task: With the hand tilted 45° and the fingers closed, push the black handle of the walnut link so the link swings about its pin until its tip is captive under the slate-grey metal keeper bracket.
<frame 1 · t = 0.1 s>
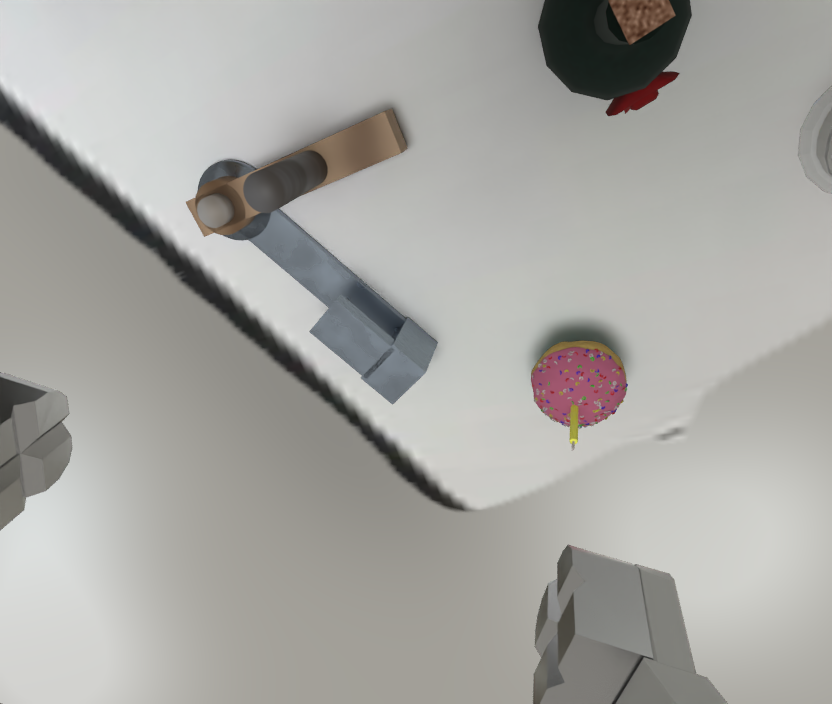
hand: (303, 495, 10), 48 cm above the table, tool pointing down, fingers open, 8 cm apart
cupcake: (576, 361, 60), on the table
walnut link: (269, 187, 51), point 7 cm above the table, hinge at 0.0°
keeper bracket: (237, 200, 59), on the table
wine bottle: (601, 43, 48), on the table
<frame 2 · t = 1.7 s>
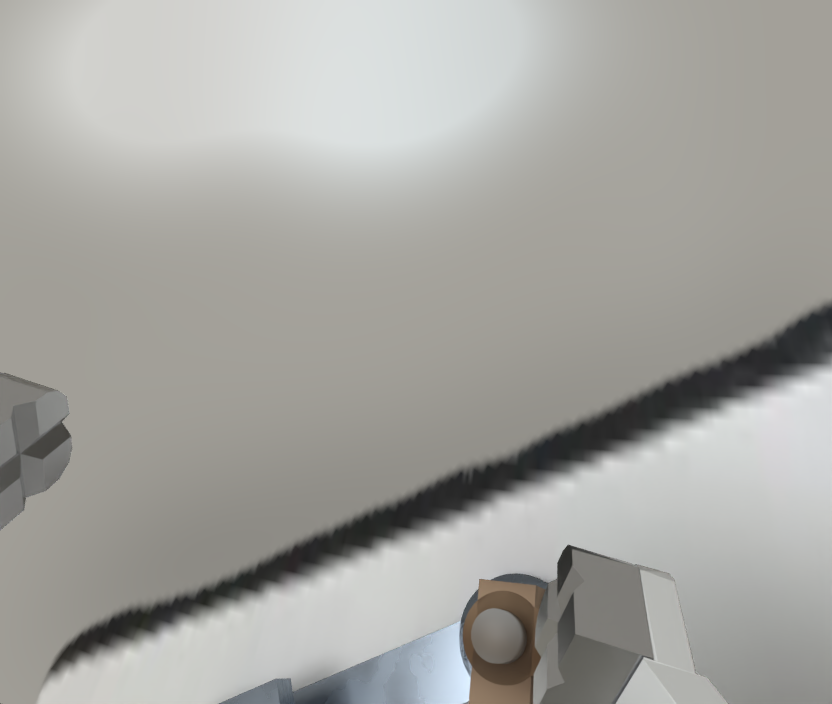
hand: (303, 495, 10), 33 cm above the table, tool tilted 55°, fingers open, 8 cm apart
keeper bracket: (519, 639, 38), on the table
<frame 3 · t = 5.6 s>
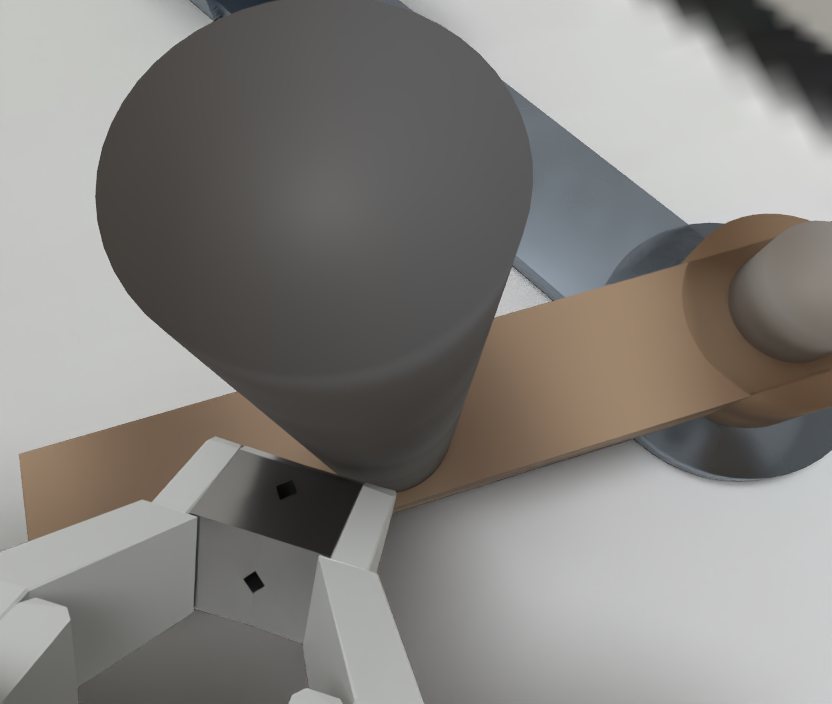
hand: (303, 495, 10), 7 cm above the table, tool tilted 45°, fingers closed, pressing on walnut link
walnut link: (516, 344, 10), point 7 cm above the table, hinge at -1.9°, touching gripper
keeper bracket: (718, 350, 18), on the table
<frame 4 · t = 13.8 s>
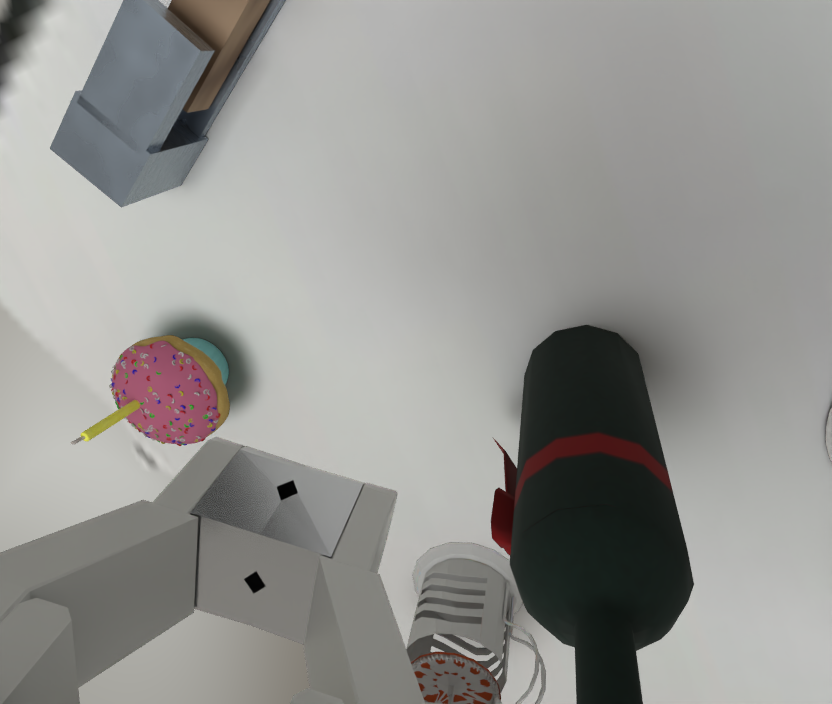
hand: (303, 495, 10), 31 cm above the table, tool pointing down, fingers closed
cupcake: (203, 362, 48), on the table
french press: (478, 582, 52), on the table
wine bottle: (567, 382, 42), on the table
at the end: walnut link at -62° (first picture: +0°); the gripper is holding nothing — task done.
